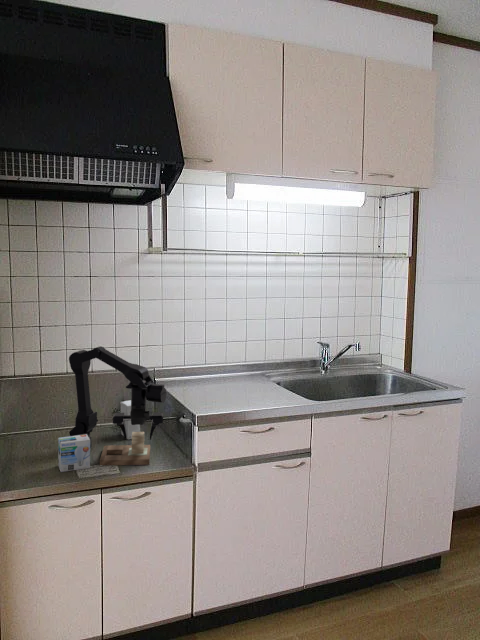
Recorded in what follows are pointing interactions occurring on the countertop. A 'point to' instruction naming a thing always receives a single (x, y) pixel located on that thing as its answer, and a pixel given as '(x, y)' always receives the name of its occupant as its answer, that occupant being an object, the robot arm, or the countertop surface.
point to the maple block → (137, 442)
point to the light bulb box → (73, 452)
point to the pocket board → (124, 455)
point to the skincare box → (129, 427)
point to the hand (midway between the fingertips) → (138, 439)
